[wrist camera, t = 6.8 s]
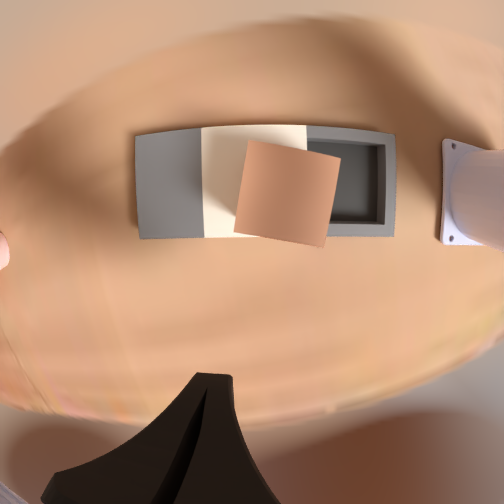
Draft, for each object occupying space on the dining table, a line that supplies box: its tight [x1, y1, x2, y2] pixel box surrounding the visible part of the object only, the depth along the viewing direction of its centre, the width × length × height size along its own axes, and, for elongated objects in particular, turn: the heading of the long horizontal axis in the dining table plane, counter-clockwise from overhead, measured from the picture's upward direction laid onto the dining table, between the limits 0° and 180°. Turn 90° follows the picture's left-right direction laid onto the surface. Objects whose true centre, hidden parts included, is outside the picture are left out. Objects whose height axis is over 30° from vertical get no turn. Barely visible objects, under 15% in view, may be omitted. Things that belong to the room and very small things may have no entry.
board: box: [135, 125, 396, 239], centre depth 16 cm, size 16×6×2 cm, turn 91°
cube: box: [233, 140, 341, 248], centre depth 13 cm, size 4×4×4 cm
